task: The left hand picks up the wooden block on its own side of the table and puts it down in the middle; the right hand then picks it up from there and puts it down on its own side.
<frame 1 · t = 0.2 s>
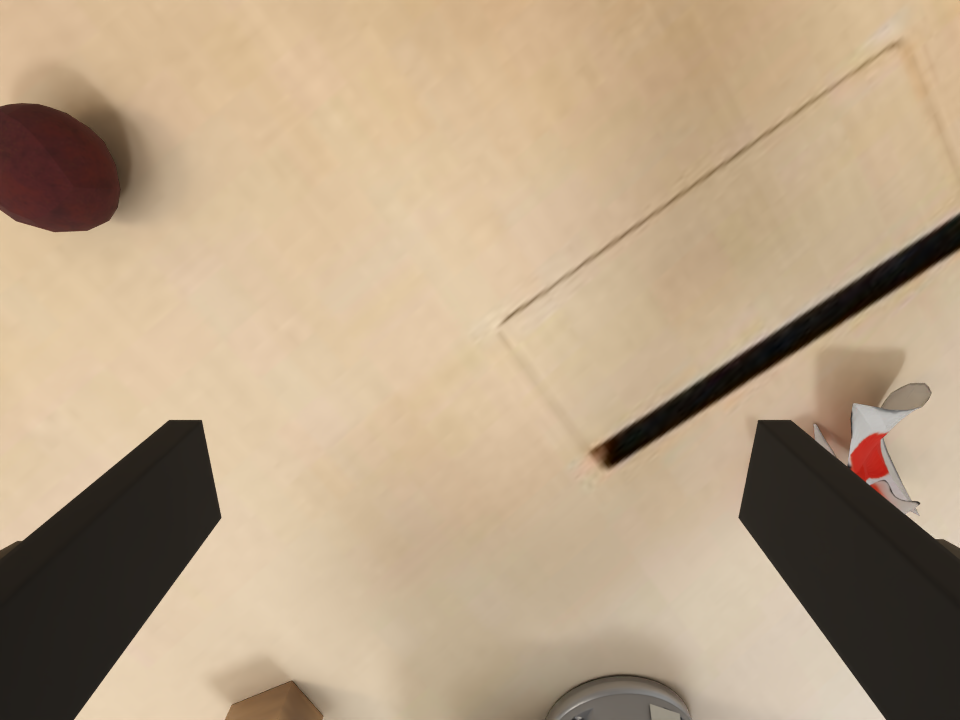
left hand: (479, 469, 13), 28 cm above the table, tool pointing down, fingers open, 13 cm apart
block: (277, 710, 55), on the table
fish: (816, 437, 44), on the table
dark red round piece: (90, 171, 37), on the table
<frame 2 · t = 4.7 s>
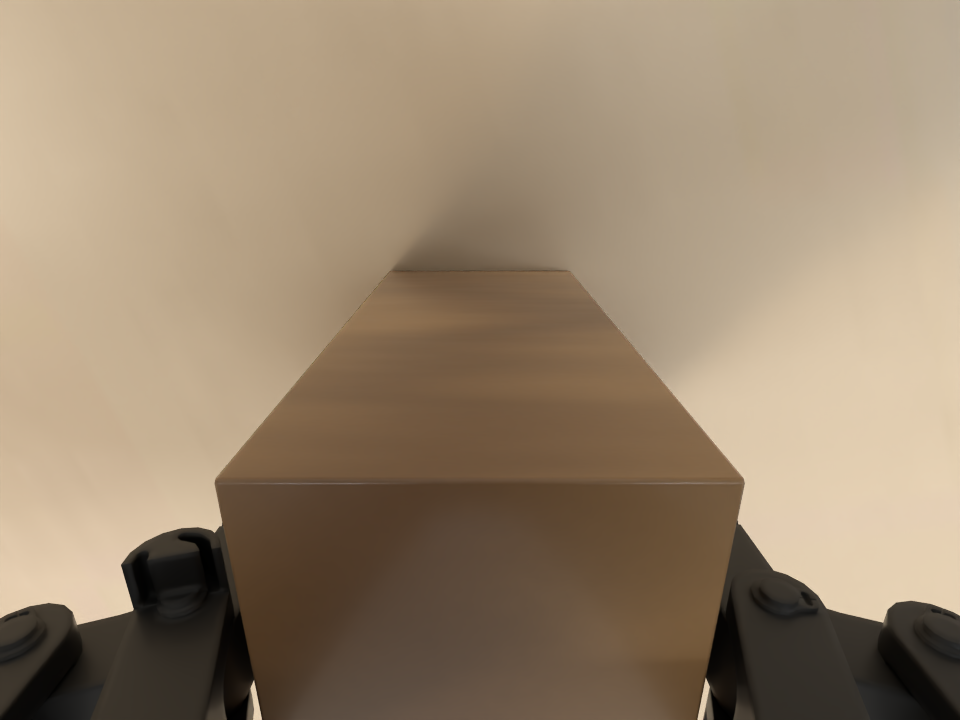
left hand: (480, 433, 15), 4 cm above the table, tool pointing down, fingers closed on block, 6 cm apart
block: (479, 380, 18), on the table, touching left hand
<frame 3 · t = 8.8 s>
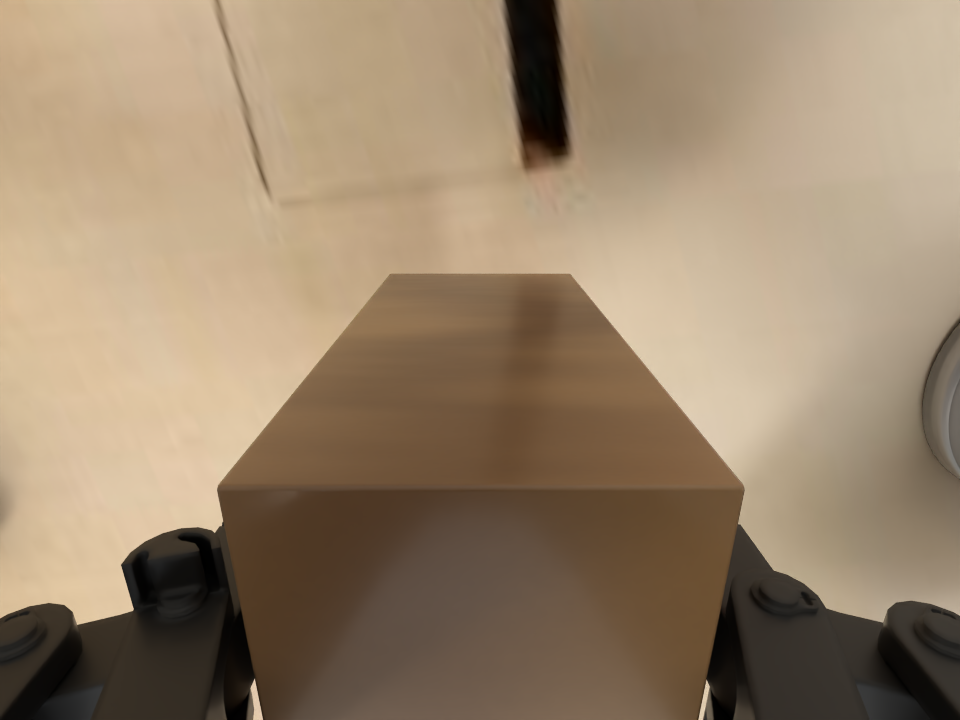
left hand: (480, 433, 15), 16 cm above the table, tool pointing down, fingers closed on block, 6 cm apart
block: (480, 382, 18), point 12 cm above the table, touching left hand
when the left hand's fingers open (6 cm above the table, at t = 12.9 s): block drops 2 cm, on the table.
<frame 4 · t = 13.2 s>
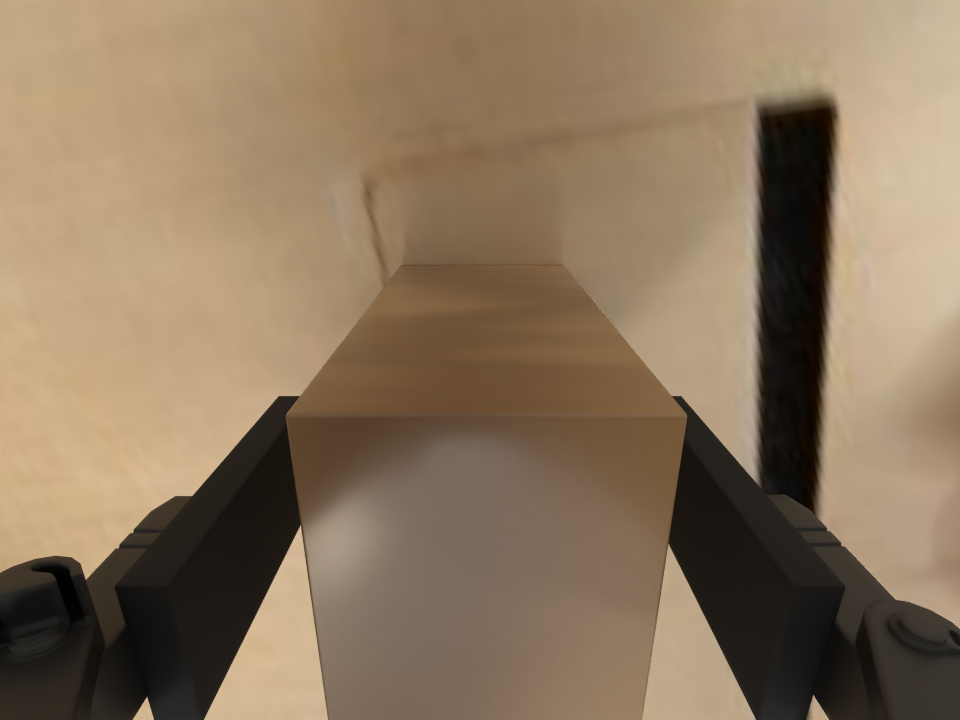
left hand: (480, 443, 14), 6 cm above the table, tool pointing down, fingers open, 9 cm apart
block: (482, 365, 20), on the table
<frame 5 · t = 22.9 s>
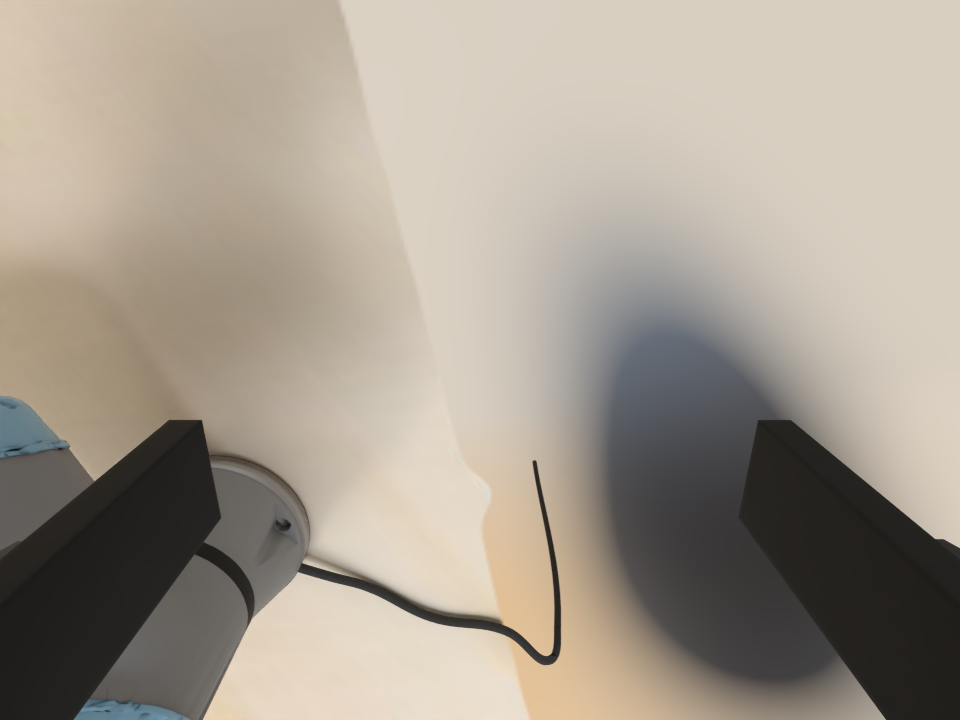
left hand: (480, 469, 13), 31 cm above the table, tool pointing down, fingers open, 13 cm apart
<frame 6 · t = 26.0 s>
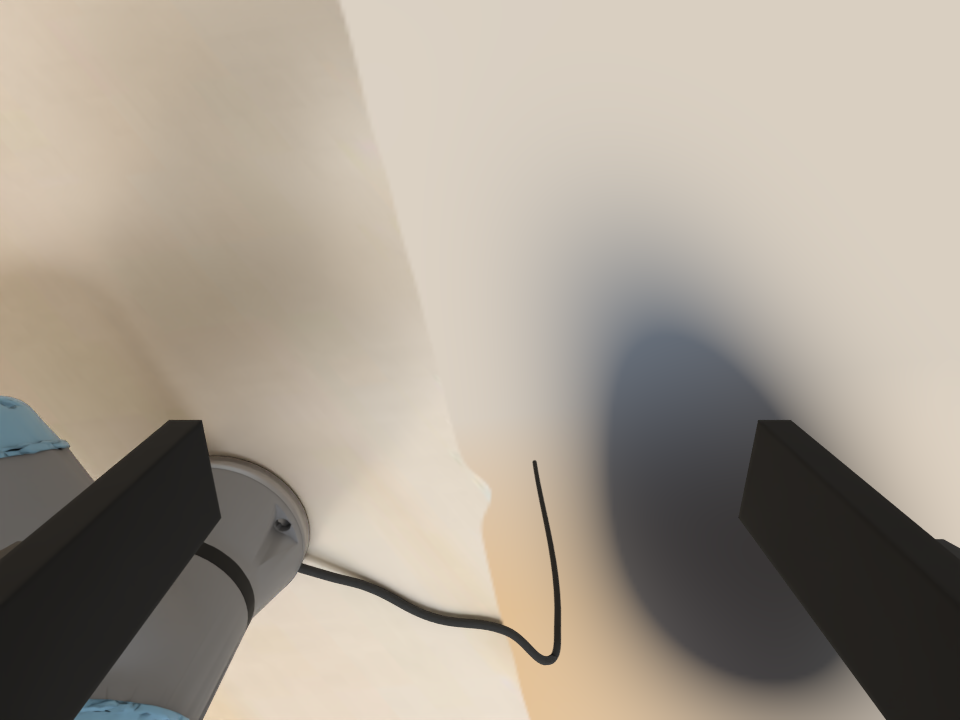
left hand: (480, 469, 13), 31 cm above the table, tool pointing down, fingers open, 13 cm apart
when the right hand's fingers open (6 cm above the table, at t = 29.2 s): block drops 2 cm, on the table.
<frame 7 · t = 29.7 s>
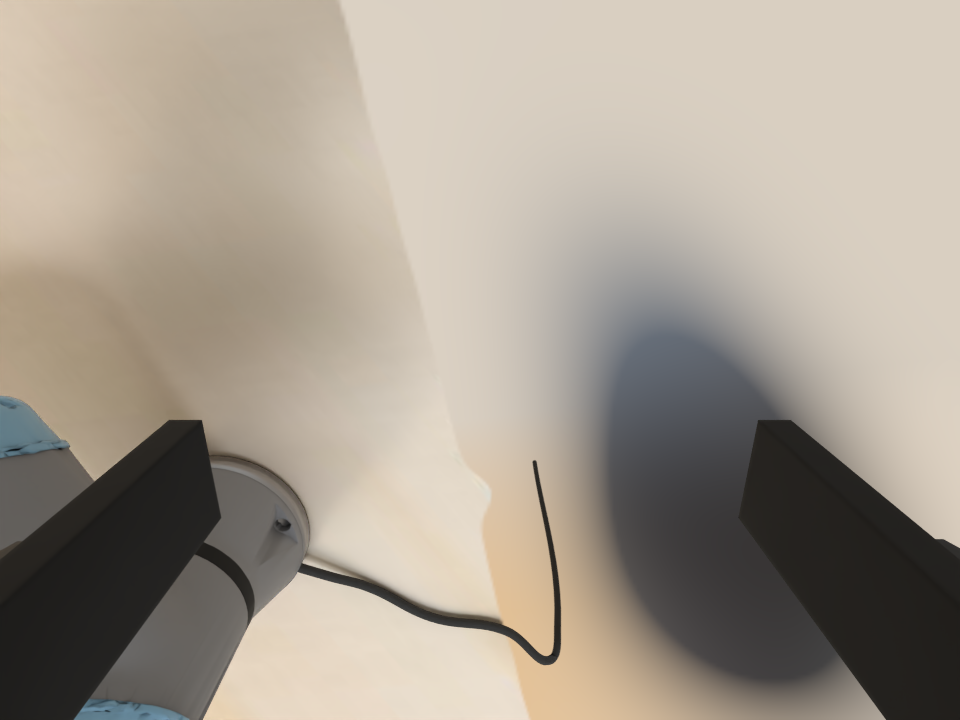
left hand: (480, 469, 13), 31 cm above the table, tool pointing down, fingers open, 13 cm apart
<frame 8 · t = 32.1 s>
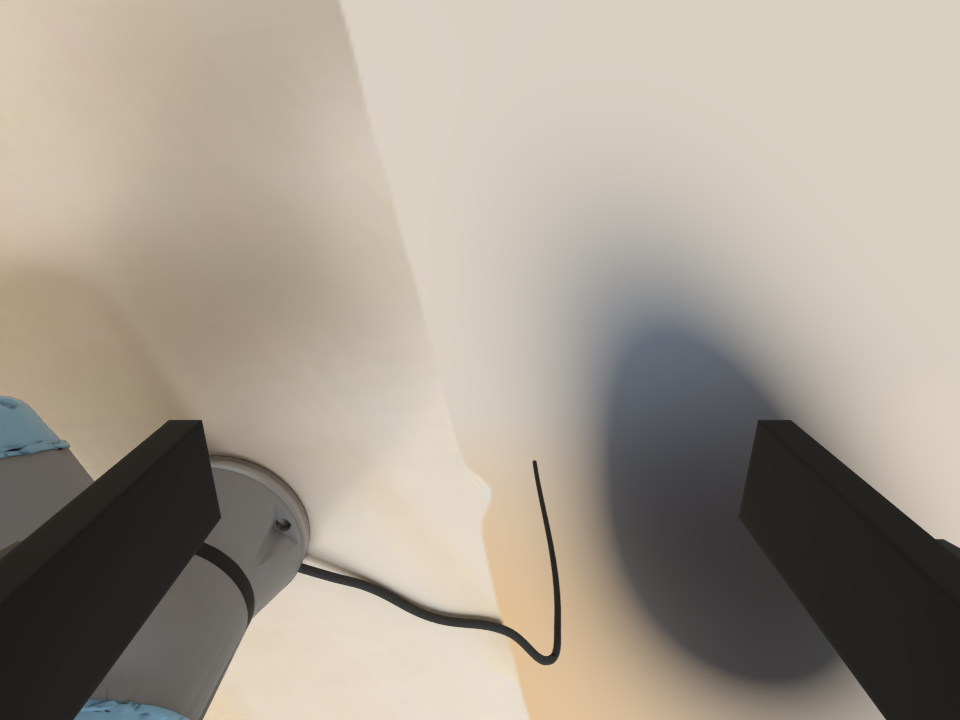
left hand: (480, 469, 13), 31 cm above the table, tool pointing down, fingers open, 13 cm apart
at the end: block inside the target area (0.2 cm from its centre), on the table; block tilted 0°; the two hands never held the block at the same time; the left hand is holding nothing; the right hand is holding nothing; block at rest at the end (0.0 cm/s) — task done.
